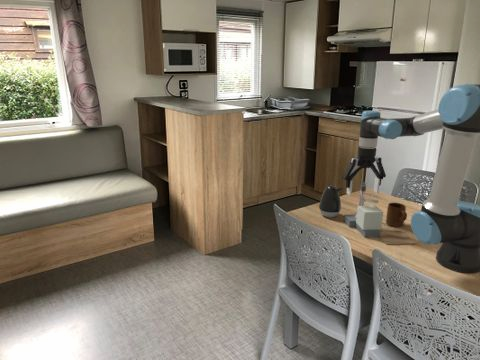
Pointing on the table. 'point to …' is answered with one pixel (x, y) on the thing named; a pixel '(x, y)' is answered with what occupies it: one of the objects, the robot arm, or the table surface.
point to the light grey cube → (369, 217)
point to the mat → (395, 238)
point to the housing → (351, 222)
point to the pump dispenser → (330, 202)
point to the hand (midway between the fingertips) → (362, 193)
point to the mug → (396, 214)
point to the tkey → (362, 200)
